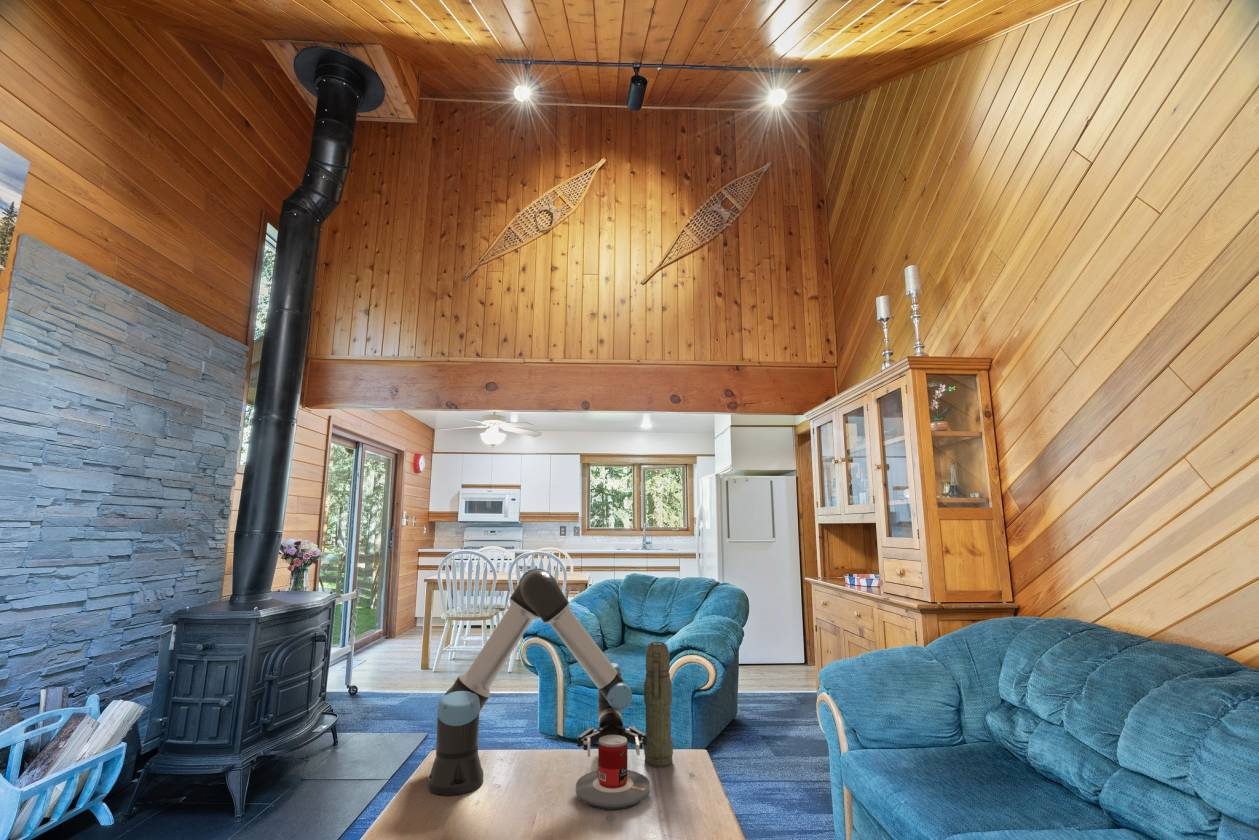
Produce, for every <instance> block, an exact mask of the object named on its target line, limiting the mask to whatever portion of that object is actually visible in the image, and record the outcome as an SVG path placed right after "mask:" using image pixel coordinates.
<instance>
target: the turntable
mask: <svg viewBox="0 0 1259 840" xmlns="http://www.w3.org/2000/svg"><path fill="white" fill-rule="evenodd" d="M650 783H651V782H650V781H649V779H648V777H646V776H645V775H644V774H642V773H639V772H637V771H634V770H630V769H627V783H626V785H624V786H623V787H620V788H605V787H603V786H601V785H600V784H599V780H598V770H593V771H590V772H588V773H586V774H584V775H583V776H580V777H579V778H578V780H577V781H576V783H575V793H576V796H577V798H578V799H580V800H581V801H583V802H584V803H585V802H586V803H589V804H592V805H596V806H602V807H621V806H628V805H632V804H635V803H638V802H640V801H641V802H642V801H644V800H645V799H646V798H647V797H648V796H649V794H650V792H651V791H650V790H651V788H650V785H651V784H650ZM641 802H640V803H641ZM586 803H585V804H586Z"/></svg>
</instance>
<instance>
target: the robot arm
mask: <svg viewBox="0 0 1259 840" xmlns="http://www.w3.org/2000/svg"><path fill="white" fill-rule="evenodd" d="M566 597H567V596H566V595H564V593H563V591H562V590H561V587H560V586H559V584H558V582H557V579H556V578H555V577H554V576H553V575H552V573H550V572H549V571H548V570H546V569H543V568H540V567H539V568H532V569H530V570H527V571H526V572H524V573H523V574H522V576H521V577H520V579H519V581H518V584H517V587H516V588H515V589H514V591H513V593H512V594H511V596H510V597H509V603H510V606H509V607H508V609H507V610H506V612H505V613H504V615H503V617H502V618H501V619H500V621H499V623H498V624H497V626H496V627H495V629H494V630H493V632H492V633H491V635H490V636H489V638H488V639H487V641H486V643H485V644H484V645H483V647H482V649H481V650H480V652H479V653H478V655H477V656H476V658H475V659H474V661H473V663H472V664H471V665H470V667H469V669H468V670H467V672H466V673H462V674H459V675H458V677H457V678H456V680H455V681H454V683H453V684H452V686H451V687H449V689H448V690H447V691H446V692H445V693H444V695H443V696H442V697H441V698H440V700H439V702H438V705H437V706H438V707H437V709H436V714H437V722H436V723H437V724H436V725H437V727H436V747H435V749H436V750H435V757H434V761H433V764H432V767H431V769H430V773H429V776H428V778H427V779H428V781H427V782H428V783H427V789H428V788H429V789H428V790H429V791H430V790H431V791H432V792H434V793H433V794H435V793H437V794H436V795H439V794H442V795H441V796H456V794H458V795H462V793H463V794H467V793H469V792H473V791H475V790H476V789H478V788H479V787H480V786H482V785H483V783H484V771H483V768H482V765H481V760H480V755H479V735H480V734H479V731H480V712H481V711H482V709H483V708H484V706H485V705H486V703H487V702H488V700H489V698H490V696H491V692H490V687H491V686H492V685H493V683H494V682H495V679H496V678H497V676H498V675H499V673H500V672H501V670H502V669H503V667H504V666H505V664H506V662H507V661H508V659H509V658H510V656H511V655H512V653H513V651H514V650H515V648H516V647H517V645H518V644H519V642H520V641H521V639H522V637H523V636H524V634H525V633H526V631H527V629H528V628H529V626H530V625H531V624H532V622H533V621H534V620H537V619H540V620H542V622H543V623H544V624H548V625H550V626H551V628H552V629H553V631H554V632H555V633H556V635H557V636H558V638H560V640H561V641H562V643H563V644H564V645H565V647H567V649H568V651H569V652H570V653H571V654H572V656H573V657H574V658H575V660H576V661H577V662H578V663H579V665H580V666H581V668H582V669H583V670H584V672H585V673H586V675H587V676H588V677H589V678H590V680H591V682H593V683H594V685H595V686H596V688H597V691H598V692H597V693H598V694H597V695H598V698H597V699H598V700H597V704H598V706H597V707H598V709H597V718H598V728H597V729H595V728H594V727H593V726H592V725H591V726H588V729H586V730H585V731H583V732H582V733H581V734H579V735H578V736H577V738H576V739H577V741H576V742H577V743H576V745H577V747H578V748H580V747H582V746H583V751H587V758H590V757H591V746H593V745H595V744H597V743H599V738H601V737H603V736H606V735H620V736H623V737H625V738H627V743H630V744H633V745H634V747H635V753H636V754H635V755H636V756H640V750H641V749H644V745H647V742H648V741H647V735H646V732H645V733H644V732H643V731H641V730H640V729H637V728H636V727H635V725H630V726H629V727H628V728H626V727H625V726H624V721H623V716H622V715H623V714H622V711H623V710H625V709H627V708H628V707H629V706H630V705H631V703H632V701H633V692H632V690H631V687H630V686H629V685H628V684H627V683H626V682H625V680H624V678H623V677H622V671H621V666H620V664H618V663H616V662H615V663H614V662H611V661H610V659H608V657H607V656H606V654H604V652H603V651H602V650H601V648H600V646H598V644H597V643H596V642H595V640H594V638H592V636H591V635H590V633H589V632H588V631H587V629H586V628H585V627H584V625H582V623H581V622H580V620H579V619H578V618H577V616H576V615H575V614H574V612H573V611H572V610H571V608H570V601H569V600H568V599H567V598H566ZM431 791H430V792H431ZM432 792H431V793H432Z"/></svg>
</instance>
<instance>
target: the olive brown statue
mask: <svg viewBox="0 0 1259 840" xmlns="http://www.w3.org/2000/svg"><path fill="white" fill-rule="evenodd" d="M670 665H671V664H670V651H669V648H668V645H667V644H666V643H665V642H661V641H654V642H649V644H647V647H646V650H645V670H646V671H645V672H646V673H645V679H644V682H643V703H644V705H645V734H646V735H647V741H648V742H647V745H643V749H644V750H643V751H644V753H643V754H644V764H645V765H646V766H648V767H651V768H658V769H659V768H661V769H662V768H667V767H670V766H672V765H673V763H674V762H673V754H674V751H673V750H674V743H673V739H672V726H671V725H672V716H671V715H672V714H671V712H672V711H671V710H672V709H671V705H672V703H673V685H672V680H671V675H670V670H671V669H670V668H671V667H670ZM671 764H672V765H671Z"/></svg>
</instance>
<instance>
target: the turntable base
mask: <svg viewBox="0 0 1259 840" xmlns="http://www.w3.org/2000/svg"><path fill="white" fill-rule="evenodd" d="M641 802H642V801H640V802H638V803H635V804H632V805H628V806H621V807H602V806H596V805H592V804H589V803H586V802H584V803H585V804H586V805H587V806H589V807H590V808H594V809H596V810H599V811H600V810H601V811H610V812H611V811H624V810H627V809H631V808H633V807H636V806H637V805H639V804H640V803H641Z"/></svg>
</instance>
